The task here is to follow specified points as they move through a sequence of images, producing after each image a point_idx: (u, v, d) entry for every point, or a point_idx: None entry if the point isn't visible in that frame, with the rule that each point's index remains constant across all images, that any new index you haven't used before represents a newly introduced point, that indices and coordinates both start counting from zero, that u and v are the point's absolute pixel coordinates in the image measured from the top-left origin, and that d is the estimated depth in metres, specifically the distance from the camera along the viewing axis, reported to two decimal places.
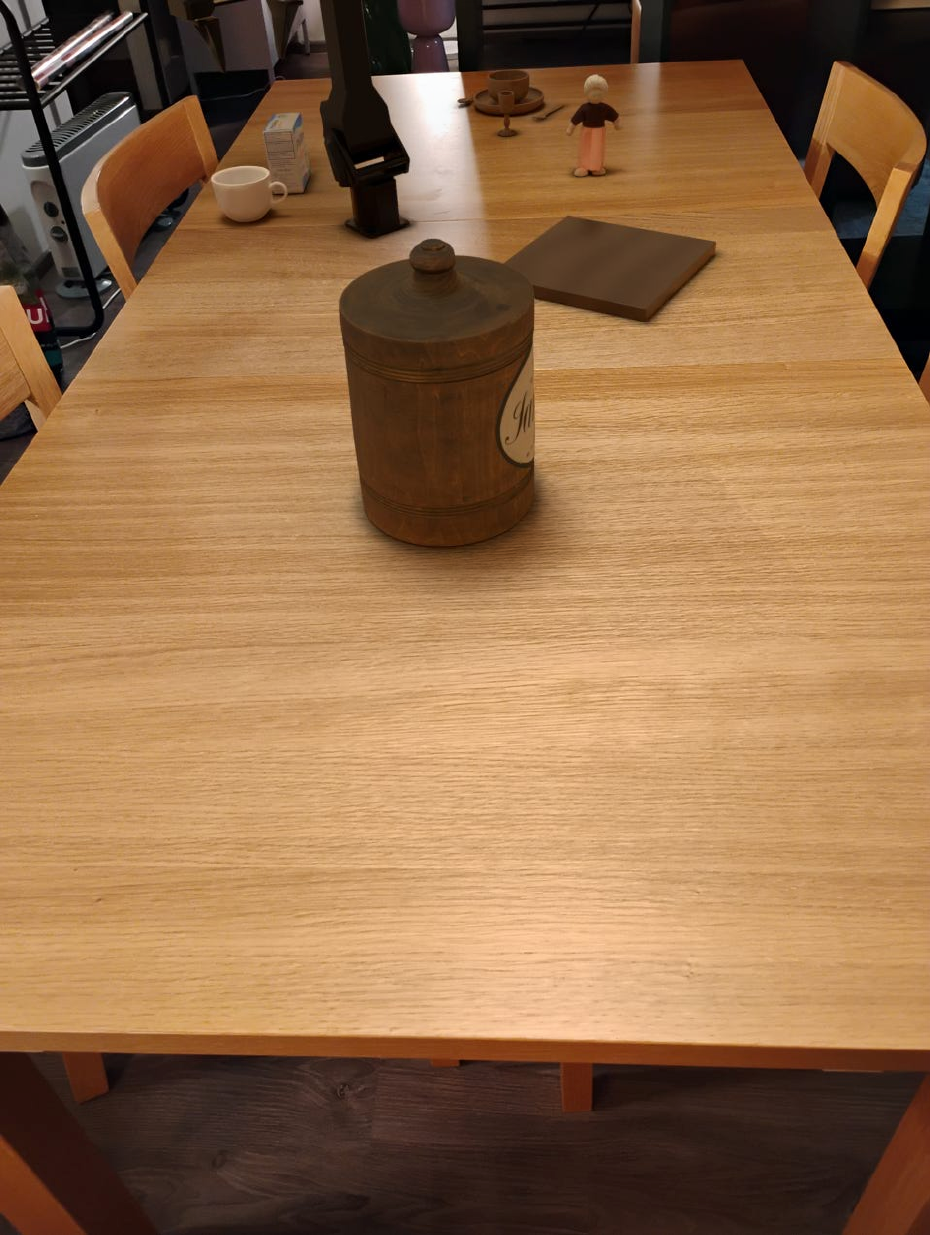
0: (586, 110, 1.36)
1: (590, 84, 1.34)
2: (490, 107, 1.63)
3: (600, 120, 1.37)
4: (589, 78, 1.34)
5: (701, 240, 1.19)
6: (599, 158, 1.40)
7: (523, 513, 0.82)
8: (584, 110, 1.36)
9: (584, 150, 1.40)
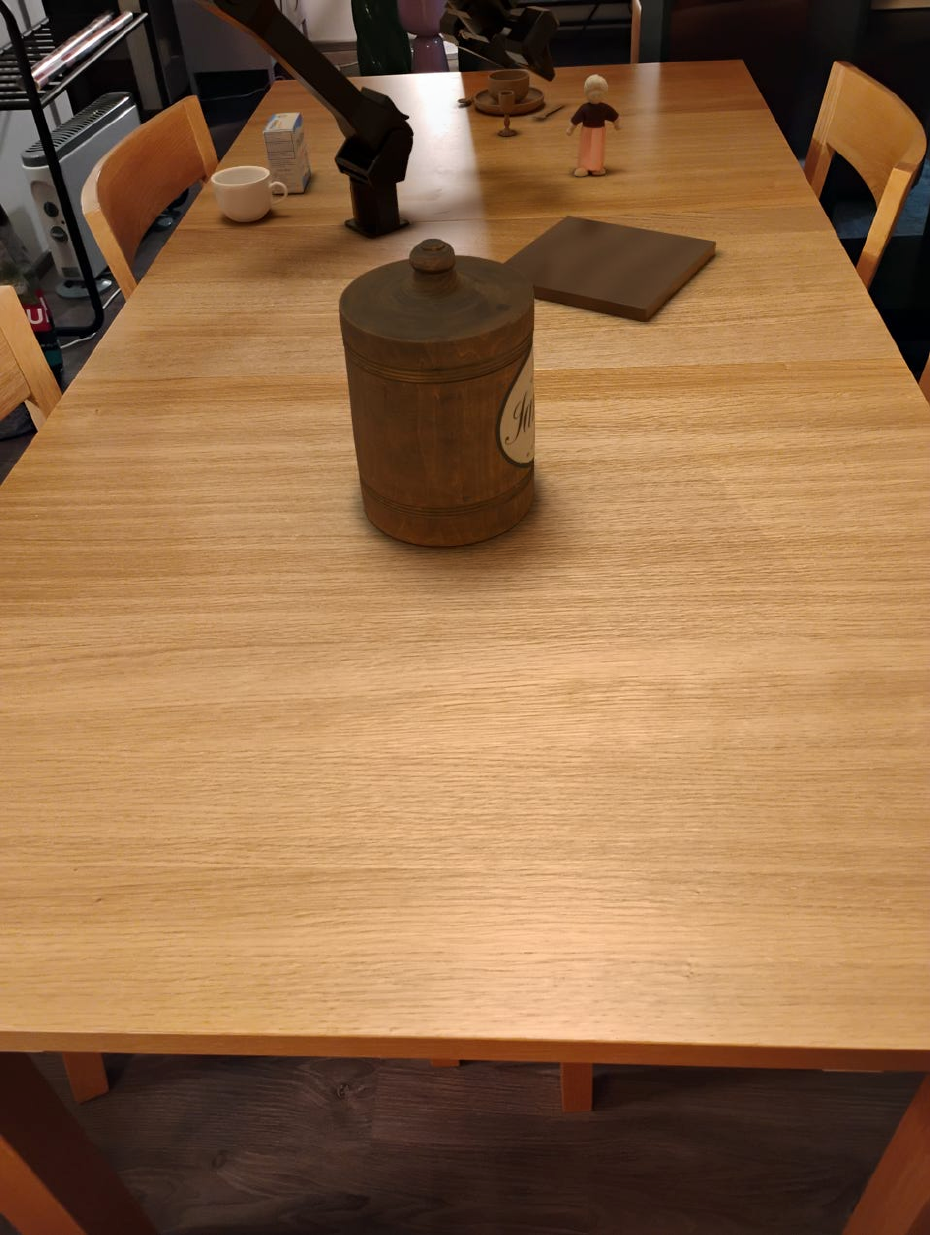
0: (586, 110, 1.36)
1: (590, 84, 1.34)
2: (490, 107, 1.63)
3: (600, 120, 1.37)
4: (589, 78, 1.34)
5: (701, 240, 1.19)
6: (599, 158, 1.40)
7: (523, 513, 0.82)
8: (584, 110, 1.36)
9: (584, 150, 1.40)
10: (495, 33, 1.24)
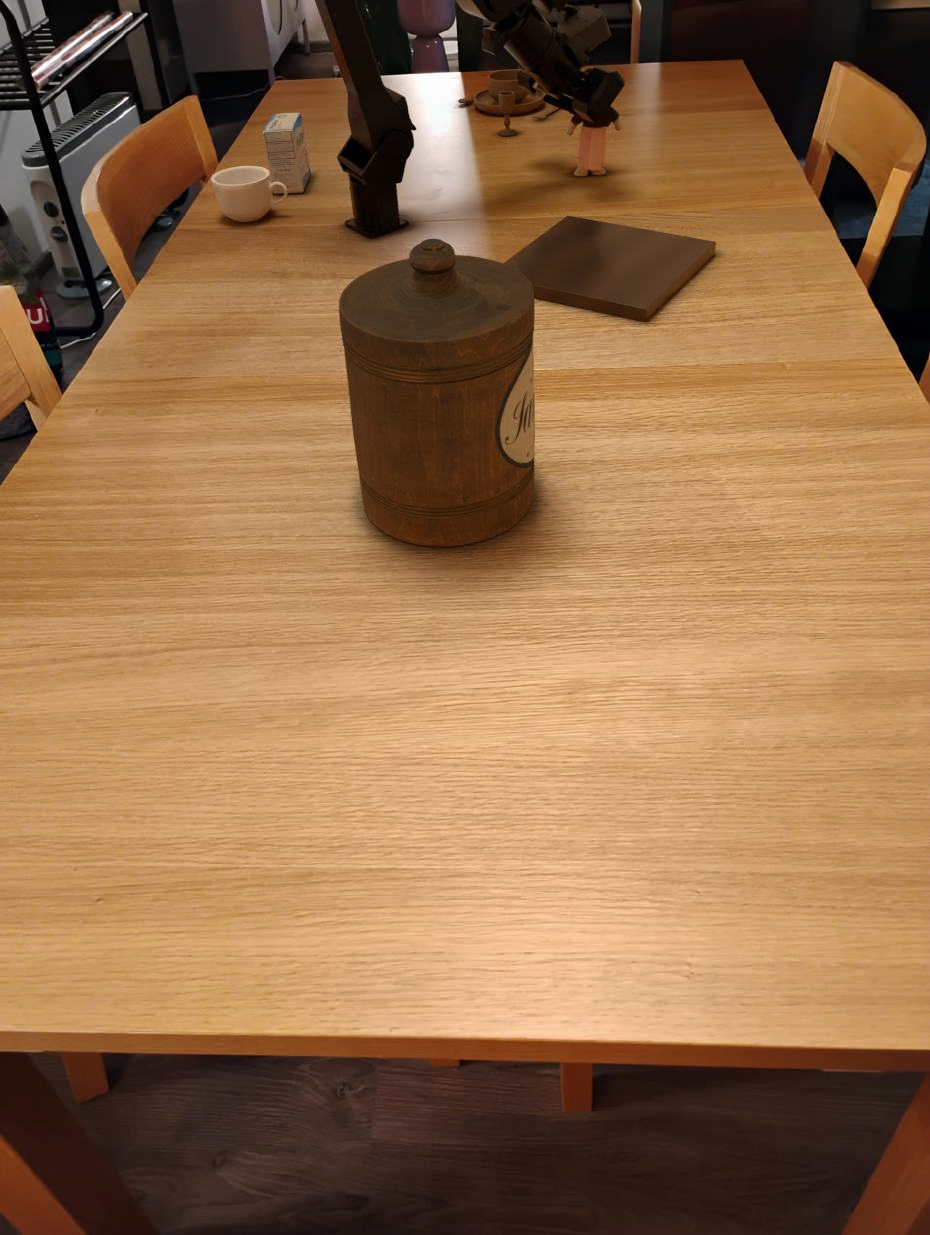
0: None
1: None
2: (490, 107, 1.63)
3: None
4: None
5: (701, 240, 1.19)
6: (599, 158, 1.40)
7: (523, 513, 0.82)
8: None
9: (584, 149, 1.40)
10: (565, 90, 1.30)
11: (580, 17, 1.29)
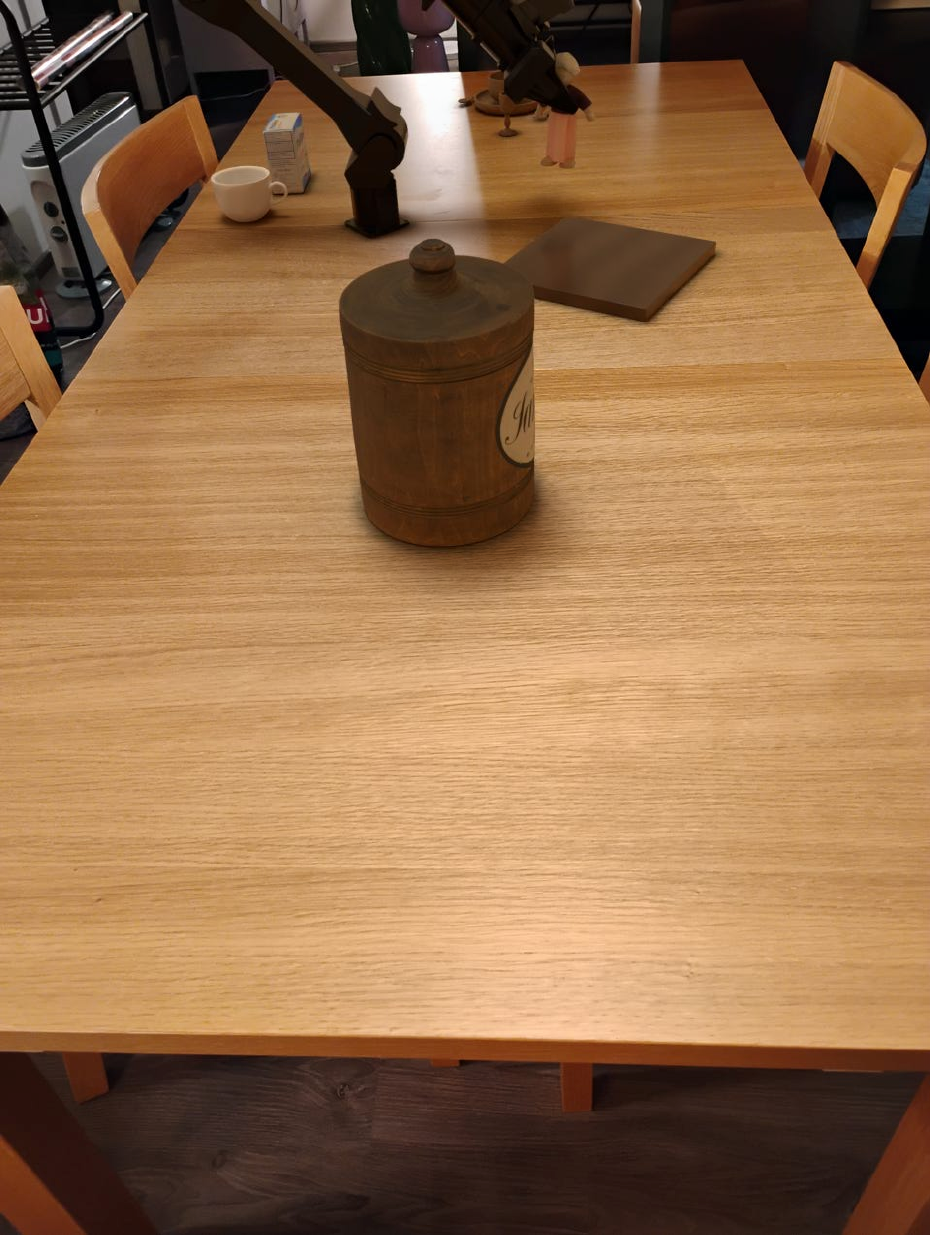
0: None
1: None
2: (491, 107, 1.63)
3: None
4: (556, 55, 1.17)
5: (701, 240, 1.19)
6: (562, 149, 1.23)
7: (523, 513, 0.82)
8: None
9: (551, 137, 1.24)
10: (510, 64, 1.16)
11: None
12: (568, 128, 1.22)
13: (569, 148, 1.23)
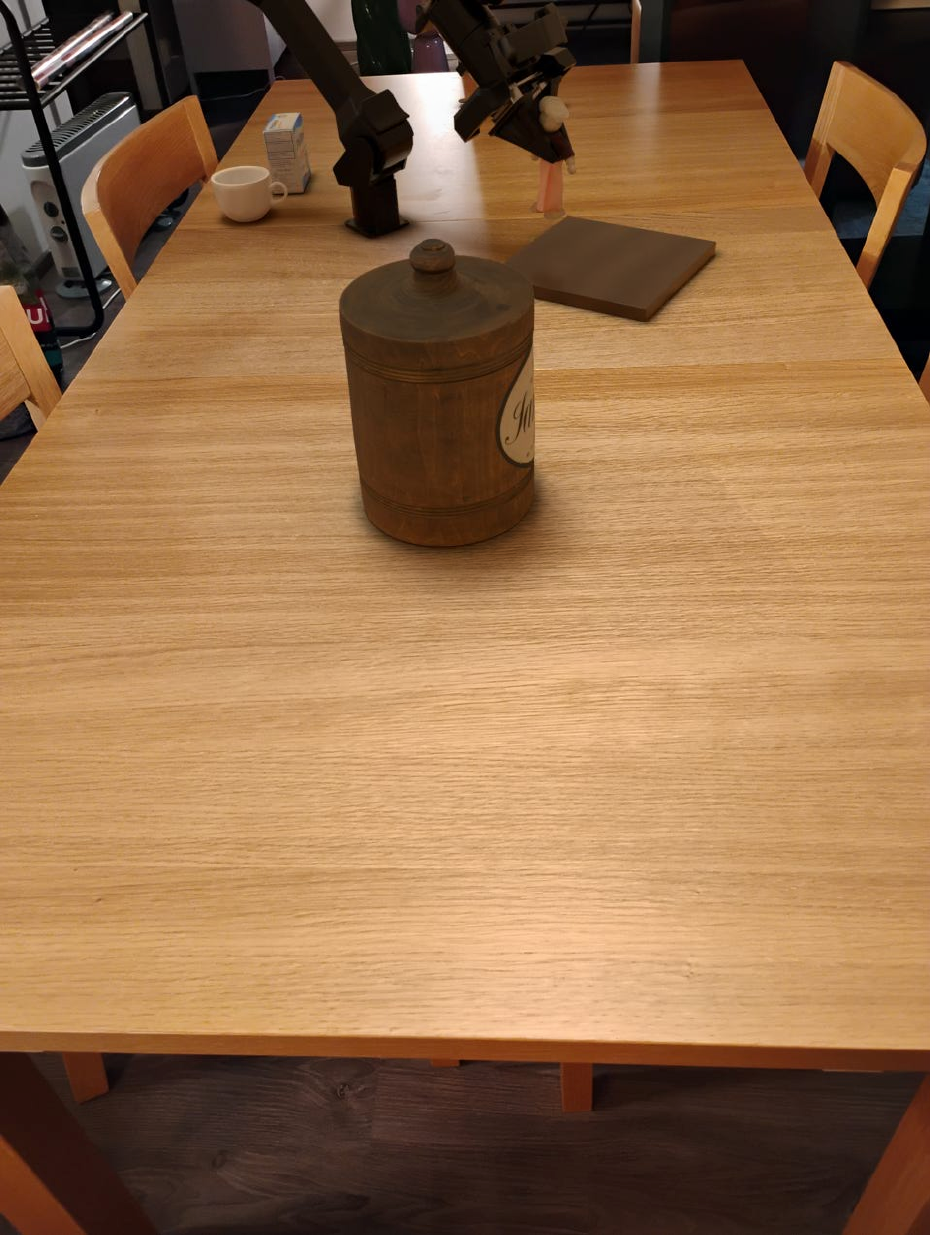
0: None
1: (539, 105, 1.09)
2: None
3: None
4: (543, 98, 1.09)
5: (701, 240, 1.19)
6: (542, 197, 1.14)
7: (523, 513, 0.82)
8: None
9: None
10: None
11: None
12: (552, 177, 1.13)
13: (553, 198, 1.15)
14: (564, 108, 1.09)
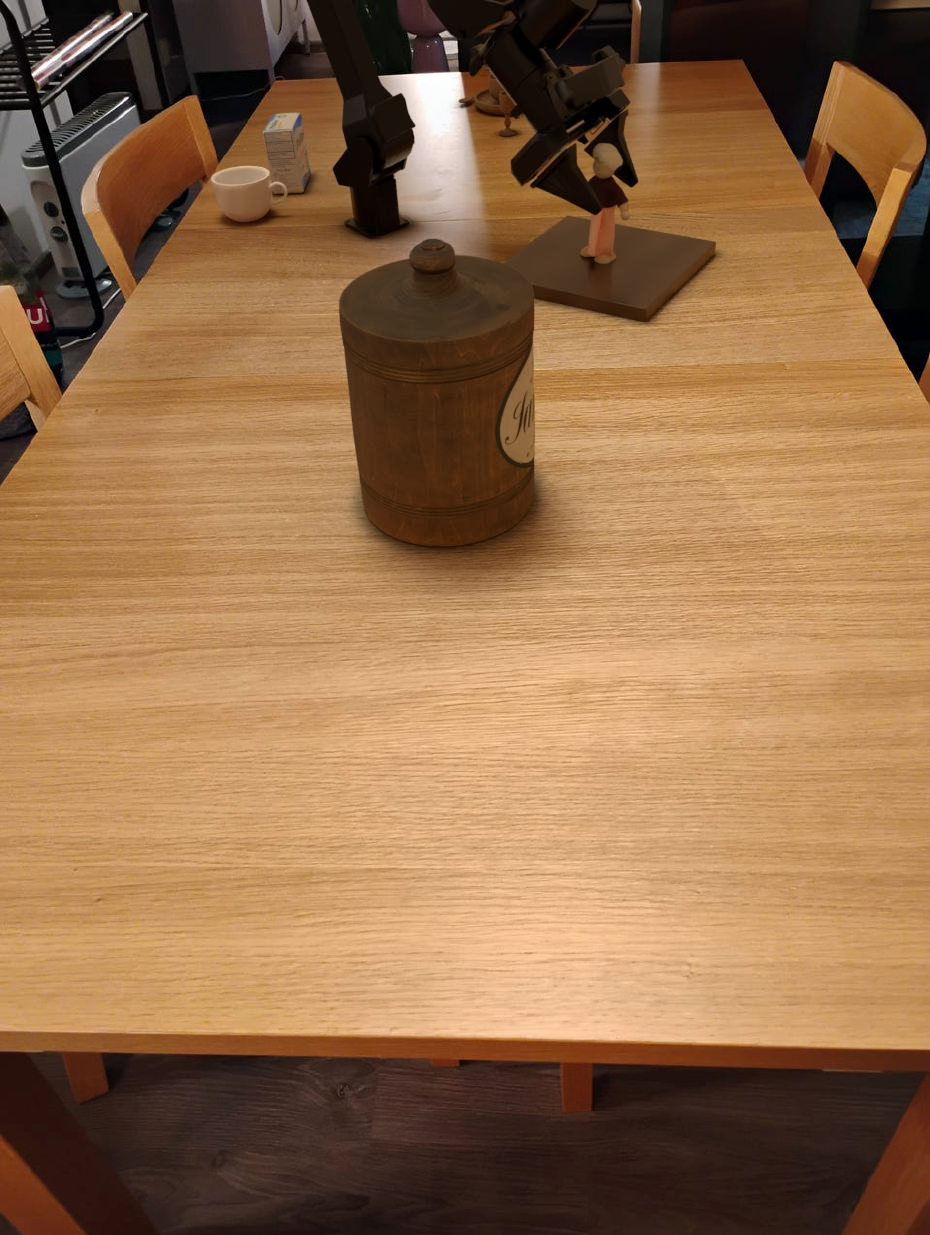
0: (591, 182, 1.12)
1: None
2: (491, 107, 1.63)
3: (602, 200, 1.11)
4: (597, 145, 1.09)
5: (701, 240, 1.19)
6: (594, 242, 1.14)
7: (523, 513, 0.82)
8: (590, 181, 1.12)
9: None
10: None
11: (594, 64, 1.05)
12: (604, 222, 1.13)
13: (604, 243, 1.14)
14: (618, 155, 1.09)
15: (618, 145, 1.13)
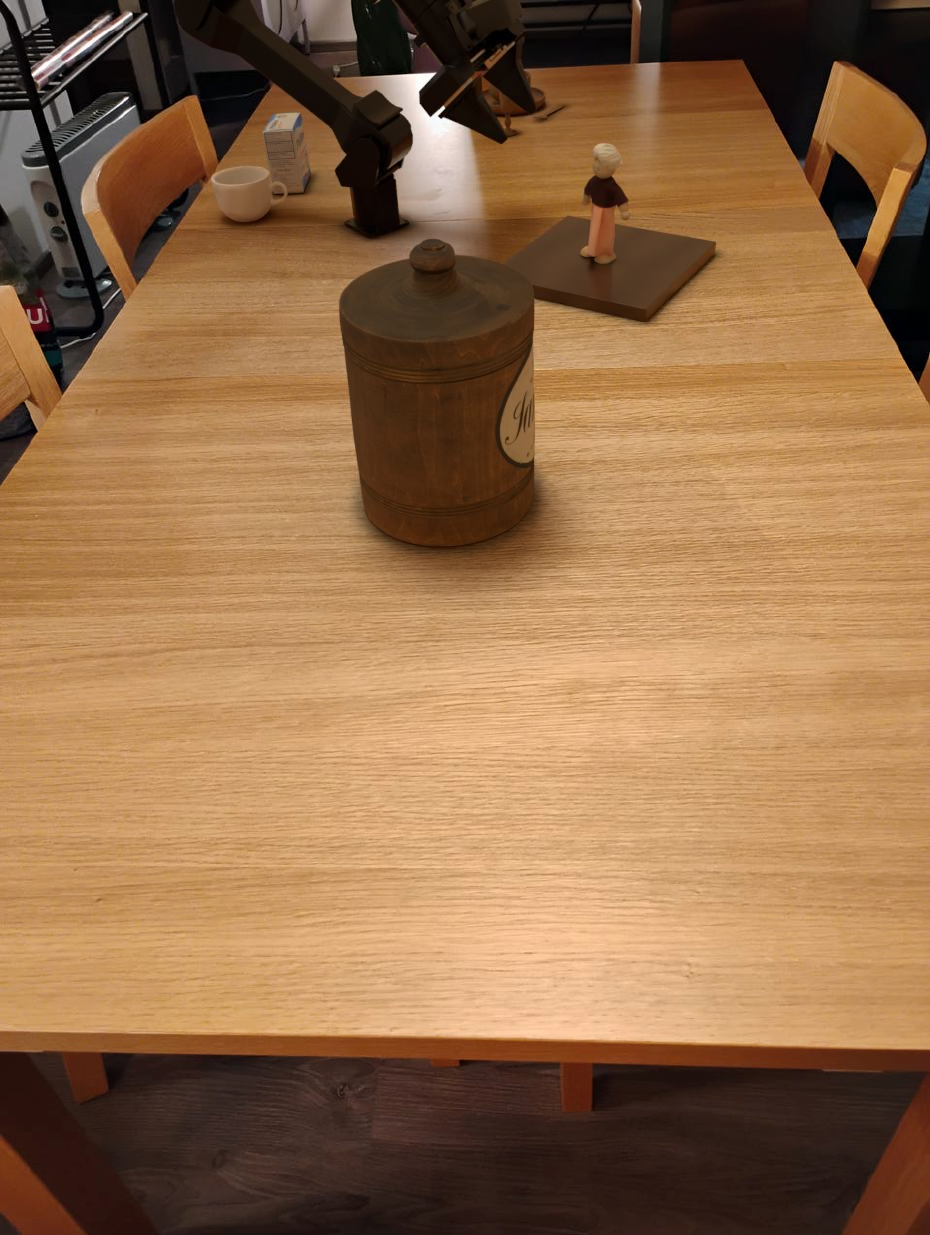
0: (591, 182, 1.12)
1: None
2: (491, 107, 1.63)
3: (602, 200, 1.11)
4: (597, 145, 1.09)
5: (701, 240, 1.19)
6: (594, 243, 1.14)
7: (523, 513, 0.82)
8: (590, 181, 1.12)
9: None
10: None
11: None
12: (604, 222, 1.13)
13: (604, 243, 1.14)
14: (618, 155, 1.09)
15: (516, 72, 1.17)
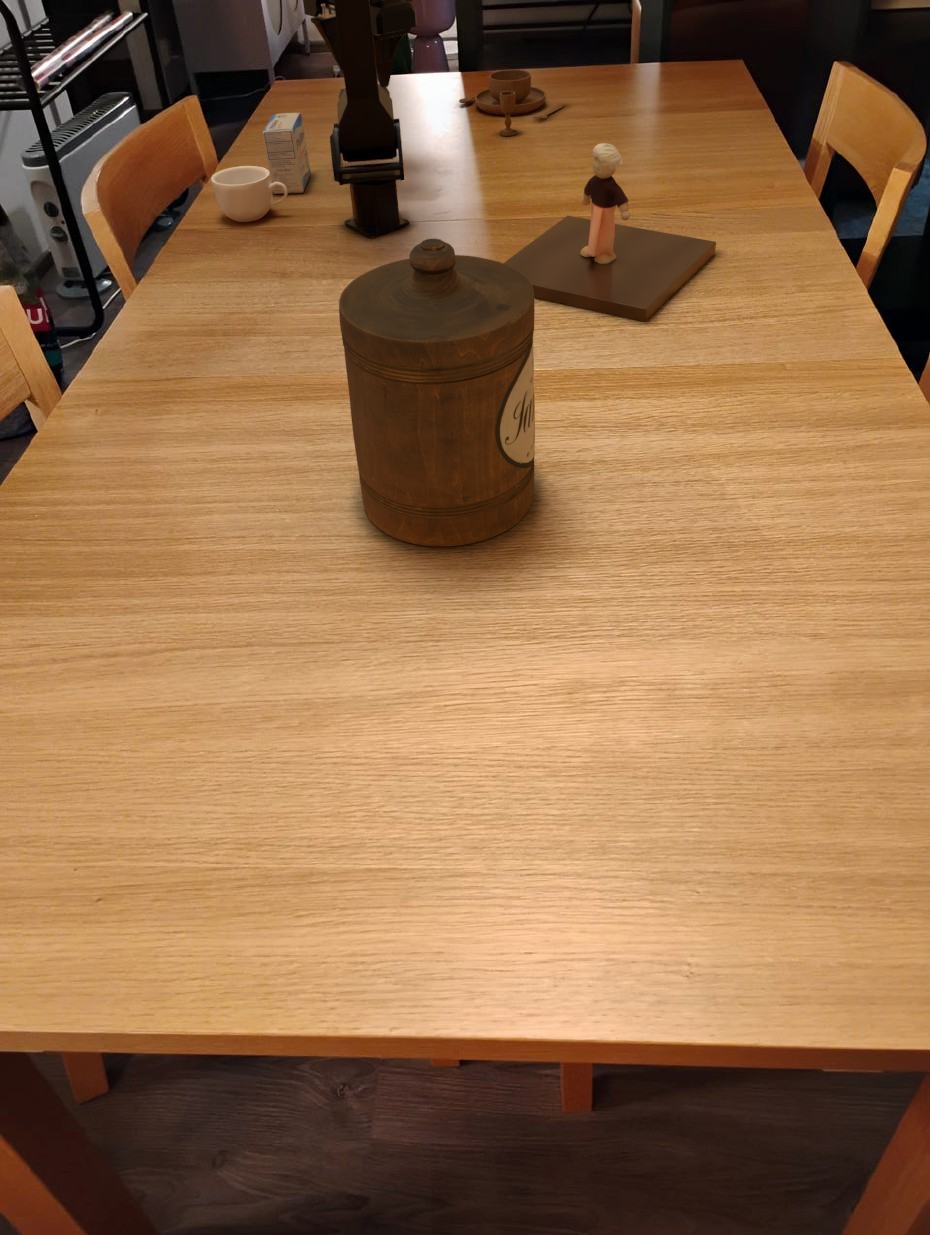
0: (591, 182, 1.12)
1: None
2: (491, 107, 1.63)
3: (602, 200, 1.11)
4: (597, 145, 1.09)
5: (701, 240, 1.19)
6: (594, 243, 1.14)
7: (523, 513, 0.82)
8: (590, 181, 1.12)
9: None
10: None
11: None
12: (604, 222, 1.13)
13: (604, 243, 1.14)
14: (618, 155, 1.09)
15: None
